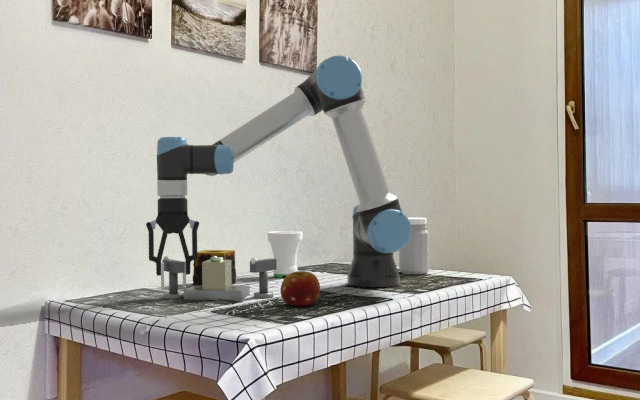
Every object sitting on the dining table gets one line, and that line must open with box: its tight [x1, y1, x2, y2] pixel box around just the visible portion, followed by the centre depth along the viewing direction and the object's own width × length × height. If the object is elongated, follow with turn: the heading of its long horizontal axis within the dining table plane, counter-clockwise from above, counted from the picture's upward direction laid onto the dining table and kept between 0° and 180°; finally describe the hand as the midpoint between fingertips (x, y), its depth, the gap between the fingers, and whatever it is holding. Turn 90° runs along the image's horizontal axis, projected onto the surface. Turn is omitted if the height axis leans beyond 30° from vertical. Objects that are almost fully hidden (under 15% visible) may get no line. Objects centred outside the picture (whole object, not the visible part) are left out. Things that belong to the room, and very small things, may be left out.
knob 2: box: [249, 256, 276, 299], centre depth 174 cm, size 8×5×10 cm, turn 145°
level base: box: [183, 256, 251, 301], centre depth 175 cm, size 15×9×11 cm, turn 83°
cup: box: [267, 230, 304, 279], centre depth 215 cm, size 11×11×14 cm
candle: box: [192, 249, 237, 286], centre depth 197 cm, size 10×10×10 cm
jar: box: [398, 217, 430, 275], centre depth 222 cm, size 10×10×18 cm
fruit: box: [280, 270, 321, 307], centre depth 162 cm, size 10×9×8 cm
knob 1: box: [161, 255, 185, 300], centre depth 174 cm, size 8×5×10 cm, turn 39°
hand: (173, 287), depth 174 cm, fingers open, 5 cm apart
